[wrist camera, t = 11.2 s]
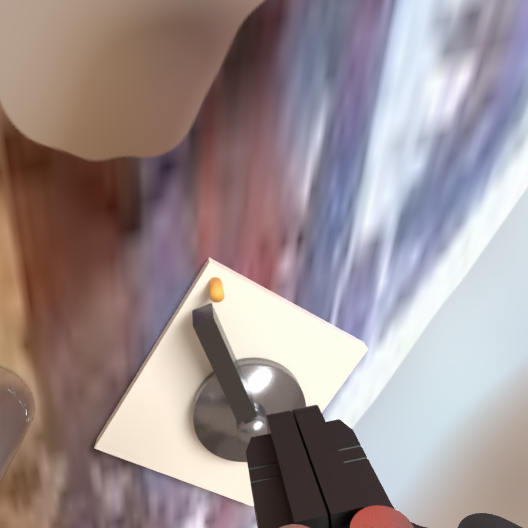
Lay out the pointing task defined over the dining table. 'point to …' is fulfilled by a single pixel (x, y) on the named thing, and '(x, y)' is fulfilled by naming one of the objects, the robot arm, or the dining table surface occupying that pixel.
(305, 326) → the dial base
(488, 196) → the dining table surface
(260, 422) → the dial
